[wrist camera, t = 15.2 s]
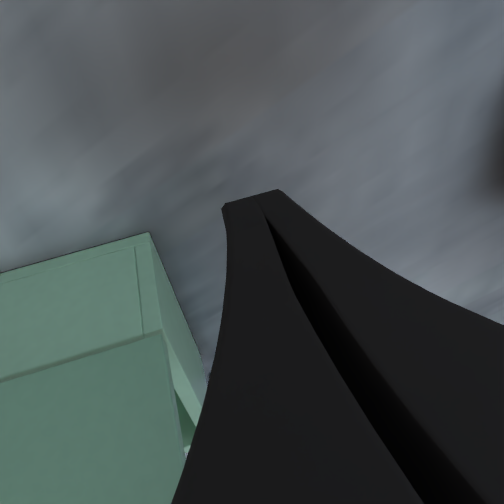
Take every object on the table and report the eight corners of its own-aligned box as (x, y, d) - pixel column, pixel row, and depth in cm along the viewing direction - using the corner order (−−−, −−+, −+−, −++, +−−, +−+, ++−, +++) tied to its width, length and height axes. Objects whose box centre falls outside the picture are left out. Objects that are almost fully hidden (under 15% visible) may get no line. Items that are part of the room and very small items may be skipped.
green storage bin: (200, 355, 30) (219, 441, 25) (0, 418, 28) (-18, 521, 24) (148, 231, 21) (162, 328, 17) (-142, 312, 20) (-212, 442, 15)
